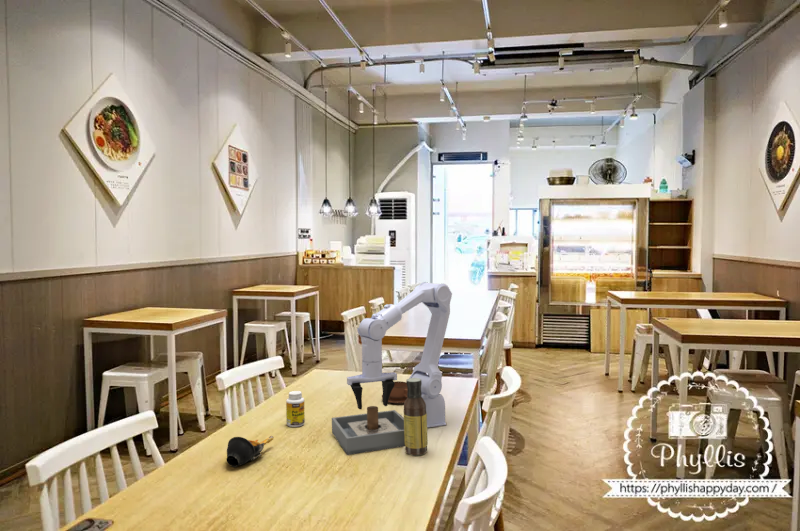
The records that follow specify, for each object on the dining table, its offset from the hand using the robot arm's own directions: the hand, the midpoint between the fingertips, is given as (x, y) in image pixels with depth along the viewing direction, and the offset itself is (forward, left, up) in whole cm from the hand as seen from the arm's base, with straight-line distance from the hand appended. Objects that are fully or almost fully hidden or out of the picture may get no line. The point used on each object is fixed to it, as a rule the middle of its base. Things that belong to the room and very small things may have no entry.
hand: (372, 406), depth 154 cm
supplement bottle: (+19, -20, -10) cm, 29 cm away
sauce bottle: (-8, +14, -10) cm, 18 cm away
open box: (0, 0, -9) cm, 9 cm away
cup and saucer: (-20, -32, -10) cm, 39 cm away
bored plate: (0, 0, -9) cm, 9 cm away
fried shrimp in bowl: (+34, +2, -10) cm, 35 cm away
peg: (0, 0, -8) cm, 8 cm away
